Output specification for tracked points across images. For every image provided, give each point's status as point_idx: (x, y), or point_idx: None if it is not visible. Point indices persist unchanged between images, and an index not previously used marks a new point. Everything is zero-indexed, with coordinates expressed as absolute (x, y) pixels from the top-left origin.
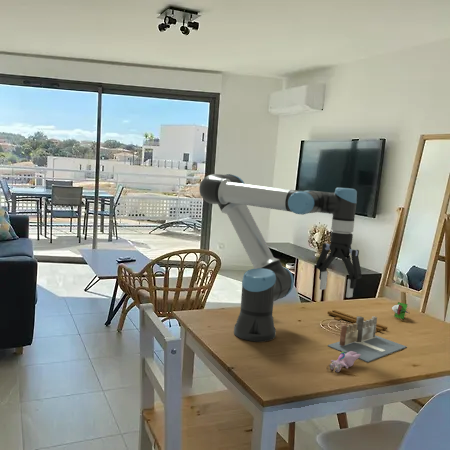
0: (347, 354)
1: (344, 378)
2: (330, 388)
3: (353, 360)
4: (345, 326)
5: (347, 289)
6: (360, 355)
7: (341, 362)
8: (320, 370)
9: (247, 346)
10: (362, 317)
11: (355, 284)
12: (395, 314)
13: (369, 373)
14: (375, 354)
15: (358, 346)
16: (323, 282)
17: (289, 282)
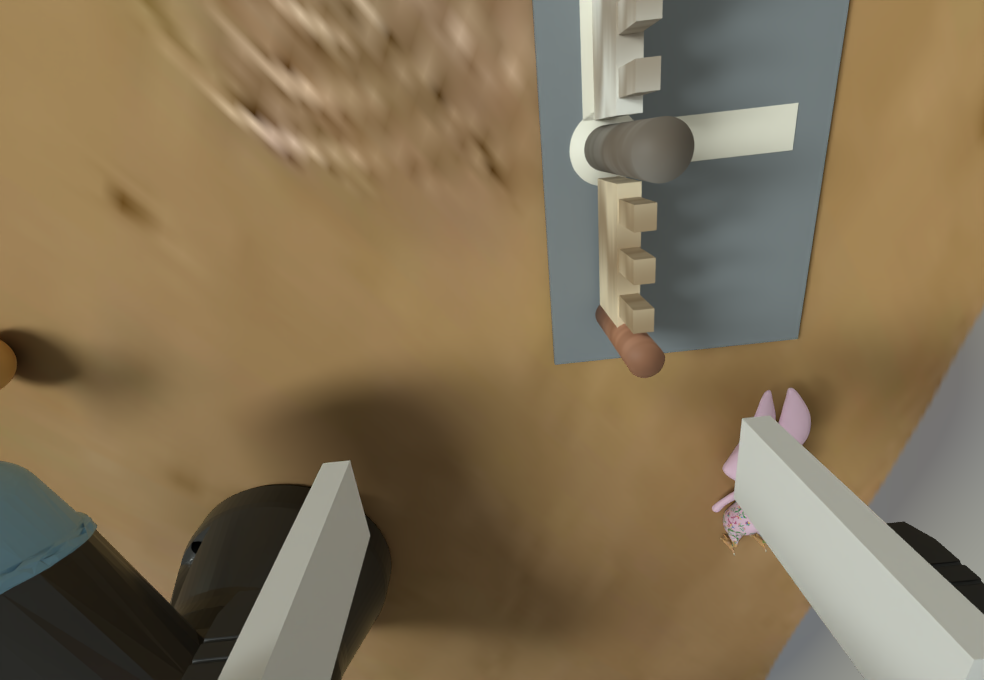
0: None
1: None
2: (807, 603)
3: None
4: (662, 365)
5: (803, 577)
6: (809, 413)
7: None
8: (706, 552)
9: (407, 637)
10: (674, 129)
11: (978, 580)
12: None
13: (852, 416)
14: (783, 223)
15: (659, 218)
16: (339, 589)
17: (3, 647)
